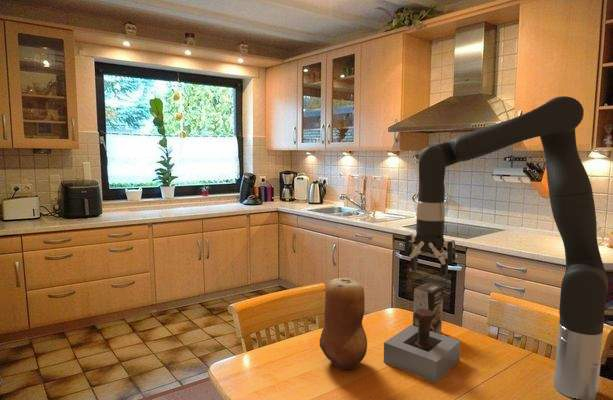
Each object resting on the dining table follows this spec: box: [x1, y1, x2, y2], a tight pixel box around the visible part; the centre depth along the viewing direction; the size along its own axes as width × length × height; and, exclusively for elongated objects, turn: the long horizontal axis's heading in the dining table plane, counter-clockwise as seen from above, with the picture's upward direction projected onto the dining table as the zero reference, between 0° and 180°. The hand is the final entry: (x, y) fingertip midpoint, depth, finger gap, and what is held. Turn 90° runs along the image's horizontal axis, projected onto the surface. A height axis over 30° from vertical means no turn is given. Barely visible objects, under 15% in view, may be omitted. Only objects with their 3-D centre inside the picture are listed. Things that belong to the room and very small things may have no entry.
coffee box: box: [412, 282, 444, 334], centre depth 138 cm, size 9×6×16 cm
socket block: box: [383, 324, 461, 384], centre depth 120 cm, size 16×16×6 cm
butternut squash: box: [319, 277, 368, 370], centre depth 117 cm, size 14×13×25 cm
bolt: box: [414, 309, 435, 352], centre depth 120 cm, size 6×5×15 cm
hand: (428, 273), depth 118 cm, fingers open, 8 cm apart
